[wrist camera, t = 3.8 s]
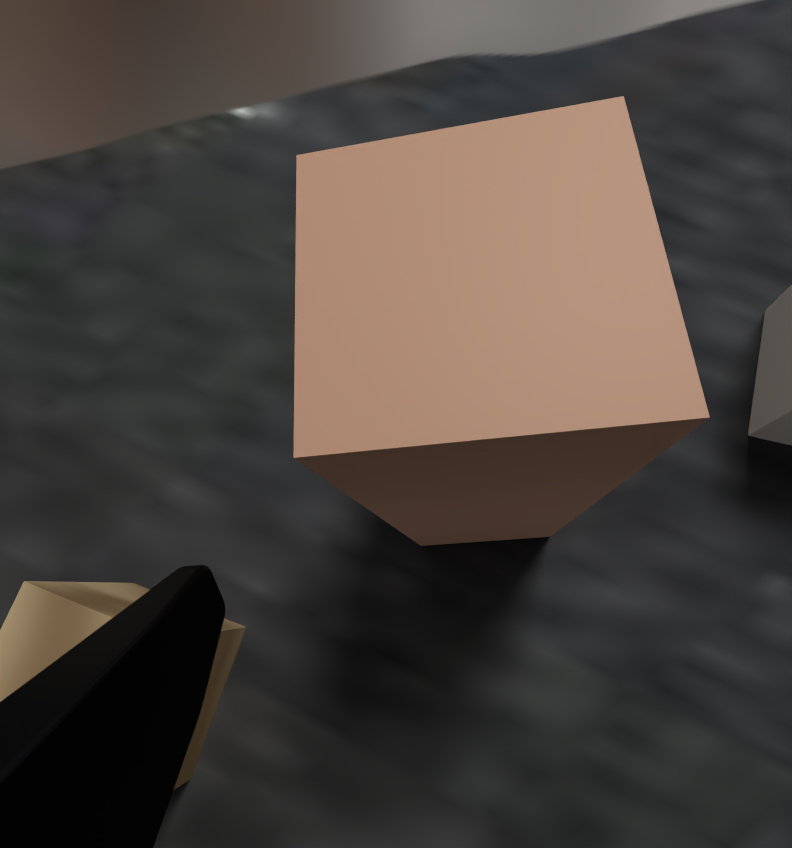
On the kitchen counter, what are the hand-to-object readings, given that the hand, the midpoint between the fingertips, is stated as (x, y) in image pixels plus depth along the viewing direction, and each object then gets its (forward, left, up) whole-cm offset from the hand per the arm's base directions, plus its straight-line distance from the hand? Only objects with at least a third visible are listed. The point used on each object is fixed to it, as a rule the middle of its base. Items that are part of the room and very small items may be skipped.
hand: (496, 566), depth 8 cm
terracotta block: (+1, -3, -10) cm, 11 cm away
